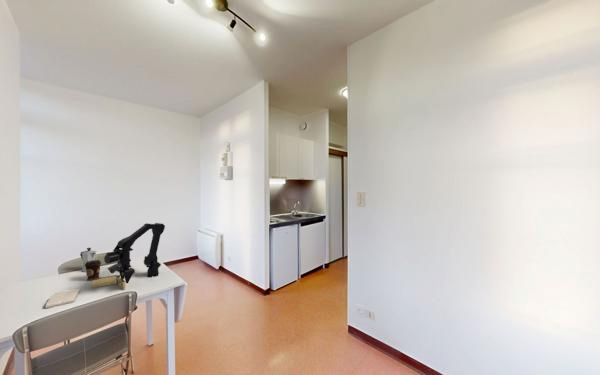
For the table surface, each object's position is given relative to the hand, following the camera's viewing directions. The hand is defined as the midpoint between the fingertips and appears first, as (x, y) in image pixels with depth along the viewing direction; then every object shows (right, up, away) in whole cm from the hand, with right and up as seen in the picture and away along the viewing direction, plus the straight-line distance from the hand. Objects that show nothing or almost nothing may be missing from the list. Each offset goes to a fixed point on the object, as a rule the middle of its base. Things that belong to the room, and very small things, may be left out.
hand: (124, 281), depth 149 cm
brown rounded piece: (-32, -3, +11) cm, 34 cm away
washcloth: (-24, -5, -16) cm, 29 cm away
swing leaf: (-3, -3, 0) cm, 4 cm away
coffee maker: (-51, -3, +27) cm, 58 cm away
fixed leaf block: (-16, -3, +3) cm, 16 cm away
